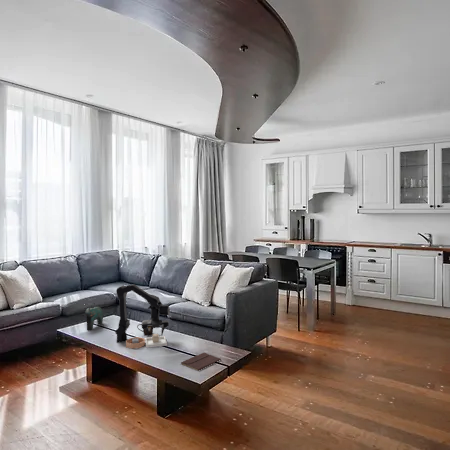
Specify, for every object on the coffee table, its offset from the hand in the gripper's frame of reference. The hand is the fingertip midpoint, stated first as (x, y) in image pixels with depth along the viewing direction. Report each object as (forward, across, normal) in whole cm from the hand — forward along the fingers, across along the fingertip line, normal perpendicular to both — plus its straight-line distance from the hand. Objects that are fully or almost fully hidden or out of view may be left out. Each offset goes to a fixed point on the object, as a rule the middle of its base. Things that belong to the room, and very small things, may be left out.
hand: (155, 336), depth 260 cm
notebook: (+5, +24, -44) cm, 50 cm away
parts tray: (+4, 0, -3) cm, 5 cm away
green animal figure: (+4, -45, +48) cm, 66 cm away
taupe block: (+4, 0, 0) cm, 4 cm away
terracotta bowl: (+4, -14, -3) cm, 15 cm away
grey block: (+4, -14, -6) cm, 16 cm away
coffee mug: (+4, -5, +17) cm, 19 cm away
